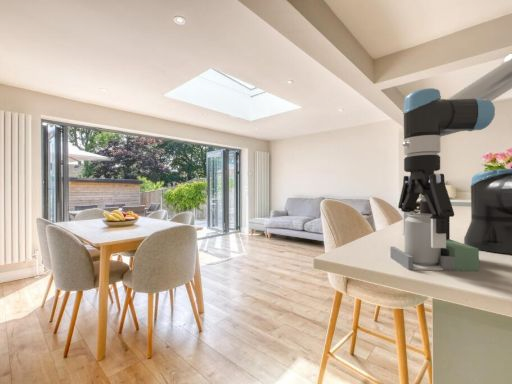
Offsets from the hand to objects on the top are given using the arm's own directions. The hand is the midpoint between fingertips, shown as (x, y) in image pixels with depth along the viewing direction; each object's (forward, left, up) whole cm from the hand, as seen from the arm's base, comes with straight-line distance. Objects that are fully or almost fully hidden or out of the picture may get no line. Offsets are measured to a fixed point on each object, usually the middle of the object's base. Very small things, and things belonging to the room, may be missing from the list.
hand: (421, 241), depth 63 cm
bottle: (-8, -9, -6) cm, 14 cm away
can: (0, 0, -5) cm, 5 cm away
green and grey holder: (-2, 0, -6) cm, 6 cm away
